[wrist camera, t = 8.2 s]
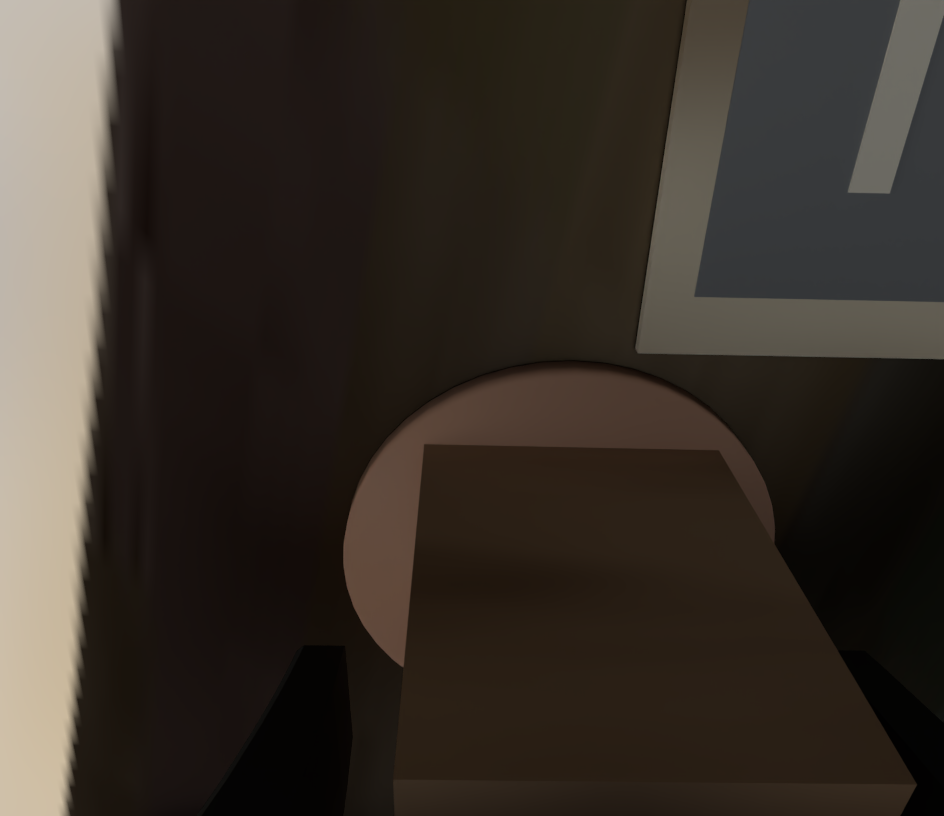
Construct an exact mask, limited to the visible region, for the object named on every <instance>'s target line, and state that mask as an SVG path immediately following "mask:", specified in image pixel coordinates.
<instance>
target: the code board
mask: <svg viewBox="0 0 944 816" xmlns="http://www.w3.org/2000/svg"><path fill="white" fill-rule="evenodd" d="M635 349H636V351H637V353H645V354H698V355H751V356H804V357H857V358H910V359H944V0H687V4H686V11H685V18H684V24H683V31H682V38H681V45H680V51H679V58H678V65H677V71H676V78H675V85H674V92H673V98H672V105H671V112H670V118H669V125H668V132H667V138H666V145H665V152H664V159H663V165H662V172H661V179H660V185H659V192H658V199H657V206H656V212H655V219H654V226H653V232H652V239H651V246H650V253H649V259H648V266H647V273H646V279H645V286H644V293H643V299H642V306H641V313H640V320H639V326H638V333H637V340H636V346H635Z"/></svg>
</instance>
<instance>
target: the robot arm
mask: <svg viewBox="0 0 944 816" xmlns="http://www.w3.org/2000/svg"><path fill="white" fill-rule="evenodd" d="M838 652H839V654H840V656H841V657H842V659H843V661H844V662H845V664H846V666H847V667H848V669H849V671H850V672H851V674H852V676H853V677H854V679H855V681H856V683H857V684H858V686H859V688H860V689H861V691H862V693H863V694H864V696H865V698H866V699H867V701H868V703H869V704H870V706H871V708H872V709H873V711H874V713H875V715H876V716H877V718H878V720H879V721H880V723H881V725H882V726H883V728H884V730H885V731H886V733H887V735H888V736H889V738H890V740H891V742H892V743H893V745H894V747H895V748H896V750H897V752H898V753H899V755H900V757H901V758H902V760H903V762H904V763H905V765H906V767H907V769H908V770H909V772H910V774H911V775H912V777H913V779H914V780H915V782H916V784H917V786H916V788H915V789H914V791H913V793H912V795H911V797H910V799H909V801H908V802H907V804H906V806H905V808H904V810H903V812H902V814H901V815H900V816H944V723H943V722H942V721H941V720H940V719H939V718H937V717H936V716H935V715H934V714H933V713H932V712H931V711H930V710H929V709H928V708H927V707H926V706H924V705H923V704H922V703H921V702H920V701H919V700H918V699H917V698H916V697H915V696H914V695H913V694H912V693H910V692H909V691H908V690H907V689H906V688H905V687H904V686H903V685H902V684H901V683H900V682H899V681H897V680H896V679H895V678H894V677H893V676H892V675H891V674H890V673H889V672H888V671H887V670H885V669H884V668H883V667H882V666H881V665H880V664H879V663H878V662H877V661H875V660H874V659H873V658H872V657H871V656H870V655H869V654H868V653H866V652H865V651H838ZM352 738H353V735H352V723H351V711H350V700H349V688H348V676H347V665H346V653H345V646H303V647H301V648H300V649H299V650H298V651H297V652H296V654H295V656H294V658H293V660H292V662H291V664H290V666H289V668H288V670H287V672H286V674H285V675H284V677H283V679H282V681H281V683H280V685H279V687H278V688H277V690H276V692H275V694H274V696H273V697H272V699H271V701H270V703H269V704H268V706H267V708H266V710H265V711H264V713H263V715H262V716H261V718H260V720H259V721H258V723H257V725H256V726H255V728H254V730H253V731H252V733H251V735H250V736H249V738H248V739H247V741H246V742H245V744H244V746H243V747H242V749H241V750H240V752H239V753H238V755H237V757H236V758H235V760H234V761H233V763H232V764H231V766H230V767H229V769H228V771H227V772H226V774H225V775H224V777H223V778H222V780H221V781H220V783H219V784H218V786H217V787H216V789H215V790H214V792H213V793H212V795H211V796H210V798H209V799H208V800H207V802H206V803H205V805H204V806H203V808H202V809H201V810H200V812H199V813H198V815H197V816H343V813H344V808H345V799H346V791H347V782H348V774H349V765H350V756H351V747H352Z"/></svg>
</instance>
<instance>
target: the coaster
mask: <svg viewBox="0 0 944 816" xmlns="http://www.w3.org/2000/svg"><path fill="white" fill-rule="evenodd" d="M424 444H441V445H489V446H536V447H584V448H632V449H680V450H719V451H720V453H721V455H722V457H723V458H724V460H725V462H726V463H727V465H728V467H729V468H730V470H731V472H732V473H733V475H734V477H735V478H736V480H737V482H738V483H739V485H740V487H741V489H742V490H743V492H744V494H745V495H746V497H747V499H748V500H749V502H750V504H751V505H752V507H753V509H754V510H755V512H756V514H757V516H758V517H759V519H760V521H761V522H762V524H763V526H764V527H765V529H766V531H767V532H768V534H769V536H770V537H771V539H772V541H773V543H774V541H775V523H774V515H773V508H772V503H771V500H770V497H769V493H768V490H767V487H766V484H765V482H764V480H763V478H762V476H761V474H760V472H759V470H758V468H757V466H756V465H755V463H754V461H753V459H752V458H751V456H750V455H749V453H748V452H747V450H746V449H745V447H744V446H743V444H742V443H741V442H740V440H739V439H738V438H737V436H736V435H735V434H734V432H733V431H732V430H731V428H730V427H729V426H728V424H727V423H726V422H724V421H723V420H722V419H721V418H720V417H719V416H718V415H717V414H716V413H715V412H714V411H713V410H712V409H711V408H710V407H709V406H707V405H706V404H704V403H703V402H701V401H700V400H698V399H697V398H696V397H694V396H693V395H691V394H690V393H688V392H687V391H685V390H683V389H681V388H679V387H677V386H675V385H673V384H671V383H669V382H667V381H665V380H663V379H661V378H658V377H655V376H652V375H649V374H646V373H643V372H640V371H637V370H634V369H630V368H625V367H620V366H615V365H610V364H605V363H594V362H581V361H560V362H541V363H534V364H528V365H522V366H516V367H510V368H507V369H503V370H500V371H496V372H493V373H489V374H486V375H482V376H480V377H477V378H475V379H473V380H470V381H468V382H465V383H463V384H461V385H458V386H456V387H454V388H452V389H450V390H448V391H447V392H445V393H443V394H441V395H440V396H438V397H436V398H434V399H433V400H431V401H429V402H428V403H426V404H425V405H424V406H422V407H421V408H420V409H418V410H417V411H416V412H414V413H413V414H412V415H410V416H409V417H408V418H406V419H405V420H404V421H403V422H402V423H401V424H400V425H399V426H398V427H397V428H396V429H395V430H394V431H393V432H392V433H391V434H390V435H389V436H388V437H387V438H386V440H385V441H384V442H383V444H382V445H381V446H380V448H379V449H378V450H377V452H376V453H375V454H374V456H373V457H372V458H371V460H370V462H369V464H368V466H367V467H366V469H365V471H364V473H363V475H362V477H361V478H360V481H359V483H358V486H357V489H356V492H355V495H354V498H353V500H352V504H351V509H350V513H349V517H348V522H347V527H346V533H345V539H344V558H343V566H344V572H345V578H346V584H347V589H348V592H349V595H350V597H351V600H352V603H353V606H354V608H355V610H356V612H357V614H358V616H359V618H360V620H361V622H362V623H363V625H364V627H365V628H366V630H367V631H368V632H369V634H370V635H371V636H372V638H373V639H374V640H375V642H376V643H377V644H378V645H379V646H380V647H381V648H382V649H383V650H384V651H385V652H386V653H387V654H388V655H389V656H390V657H391V658H392V659H393V660H394V661H395V662H397V663H398V664H399V665H400V666H402V667H403V668H404V657H405V646H406V636H407V625H408V614H409V603H410V592H411V581H412V571H413V560H414V549H415V538H416V527H417V517H418V506H419V495H420V484H421V473H422V462H423V452H424Z"/></svg>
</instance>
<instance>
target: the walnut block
mask: <svg viewBox="0 0 944 816" xmlns="http://www.w3.org/2000/svg"><path fill="white" fill-rule="evenodd" d="M916 786H917V784H916V782H915V780H914V779H913V777H912V775H911V774H910V772H909V770H908V769H907V767H906V765H905V763H904V762H903V760H902V758H901V757H900V755H899V753H898V752H897V750H896V748H895V747H894V745H893V743H892V742H891V740H890V738H889V736H888V735H887V733H886V731H885V730H884V728H883V726H882V725H881V723H880V721H879V720H878V718H877V716H876V715H875V713H874V711H873V709H872V708H871V706H870V704H869V703H868V701H867V699H866V698H865V696H864V694H863V693H862V691H861V689H860V688H859V686H858V684H857V683H856V681H855V679H854V677H853V676H852V674H851V672H850V671H849V669H848V667H847V666H846V664H845V662H844V661H843V659H842V657H841V656H840V654H839V652H838V650H837V649H836V647H835V645H834V644H833V642H832V640H831V639H830V637H829V635H828V634H827V632H826V630H825V629H824V627H823V625H822V623H821V622H820V620H819V618H818V617H817V615H816V613H815V612H814V610H813V608H812V607H811V605H810V603H809V602H808V600H807V598H806V596H805V595H804V593H803V591H802V590H801V588H800V586H799V585H798V583H797V581H796V580H795V578H794V576H793V575H792V573H791V571H790V570H789V568H788V566H787V564H786V563H785V561H784V559H783V558H782V556H781V554H780V553H779V551H778V549H777V548H776V546H775V544H774V543H773V541H772V539H771V537H770V536H769V534H768V532H767V531H766V529H765V527H764V526H763V524H762V522H761V521H760V519H759V517H758V516H757V514H756V512H755V510H754V509H753V507H752V505H751V504H750V502H749V500H748V499H747V497H746V495H745V494H744V492H743V490H742V489H741V487H740V485H739V483H738V482H737V480H736V478H735V477H734V475H733V473H732V472H731V470H730V468H729V467H728V465H727V463H726V462H725V460H724V458H723V457H722V455H721V453H720V451H719V450H680V449H632V448H584V447H536V446H489V445H441V444H424V452H423V462H422V473H421V484H420V495H419V506H418V517H417V527H416V538H415V549H414V560H413V571H412V581H411V592H410V603H409V614H408V625H407V636H406V646H405V657H404V668H403V679H402V690H401V700H400V711H399V722H398V733H397V744H396V754H395V765H394V776H393V789H394V816H900V815H901V814H902V812H903V810H904V808H905V806H906V804H907V802H908V801H909V799H910V797H911V795H912V793H913V791H914V789H915V788H916Z"/></svg>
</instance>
